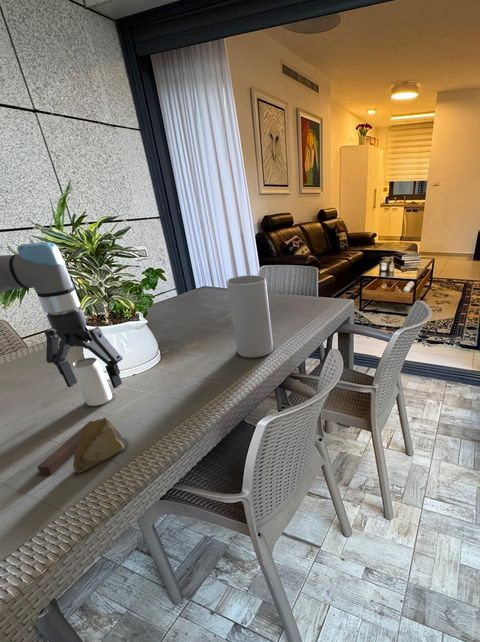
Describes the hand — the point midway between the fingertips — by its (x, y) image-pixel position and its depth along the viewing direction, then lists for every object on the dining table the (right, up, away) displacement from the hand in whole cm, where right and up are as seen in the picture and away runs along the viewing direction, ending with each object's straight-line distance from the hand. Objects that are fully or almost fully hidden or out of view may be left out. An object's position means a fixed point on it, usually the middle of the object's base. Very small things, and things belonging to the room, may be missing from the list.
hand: (95, 385), depth 96 cm
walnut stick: (+5, -14, -16) cm, 22 cm away
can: (0, -5, +2) cm, 5 cm away
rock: (+13, -16, -19) cm, 28 cm away
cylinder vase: (+39, +11, +28) cm, 49 cm away
